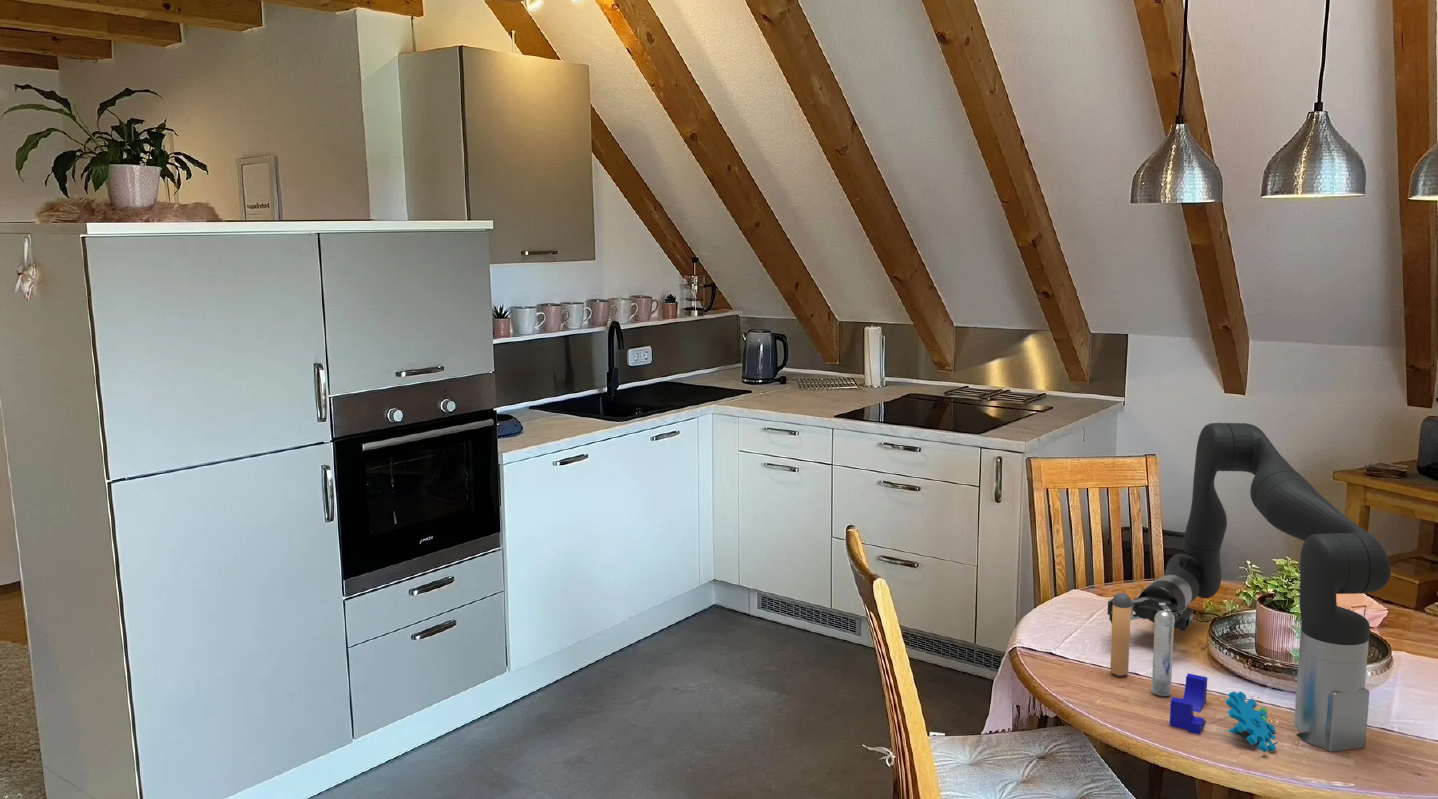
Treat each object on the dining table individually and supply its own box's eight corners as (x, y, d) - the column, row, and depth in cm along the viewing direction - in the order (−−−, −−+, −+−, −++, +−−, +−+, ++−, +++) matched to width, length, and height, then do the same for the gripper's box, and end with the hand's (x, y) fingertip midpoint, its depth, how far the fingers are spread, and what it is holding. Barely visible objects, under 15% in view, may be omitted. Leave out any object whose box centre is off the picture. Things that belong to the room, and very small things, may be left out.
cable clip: (1199, 742, 168) (1201, 707, 167) (1169, 735, 171) (1170, 700, 170) (1215, 713, 178) (1217, 679, 177) (1186, 706, 180) (1188, 673, 179)
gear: (1266, 755, 160) (1223, 695, 165) (1234, 772, 164) (1193, 712, 168) (1293, 739, 168) (1251, 682, 172) (1262, 755, 171) (1222, 699, 176)
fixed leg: (1175, 696, 181) (1179, 612, 178) (1162, 701, 179) (1166, 615, 177) (1159, 689, 184) (1163, 606, 181) (1146, 694, 182) (1150, 609, 179)
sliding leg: (1132, 675, 189) (1136, 594, 186) (1119, 679, 187) (1123, 597, 184) (1118, 669, 191) (1121, 588, 189) (1105, 673, 190) (1108, 592, 187)
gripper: (1129, 573, 210) (1098, 596, 198) (1205, 587, 201) (1177, 613, 189) (1128, 609, 211) (1097, 634, 199) (1203, 625, 202) (1175, 653, 190)
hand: (1136, 624), depth 194 cm, fingers open, 8 cm apart
